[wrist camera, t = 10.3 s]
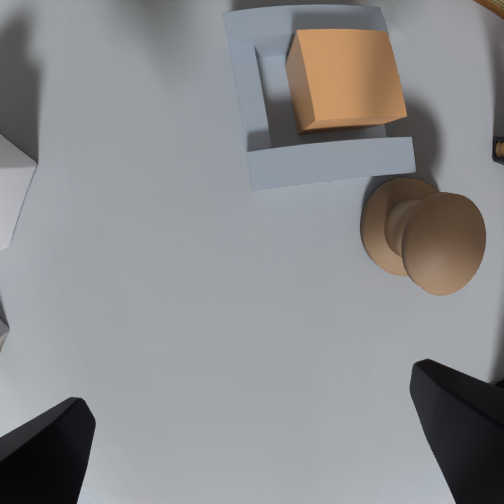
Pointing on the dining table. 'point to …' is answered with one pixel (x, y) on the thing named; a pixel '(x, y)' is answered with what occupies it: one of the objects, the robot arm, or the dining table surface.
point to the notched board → (280, 105)
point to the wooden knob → (423, 234)
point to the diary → (493, 6)
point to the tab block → (343, 80)
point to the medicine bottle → (12, 187)
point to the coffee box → (3, 333)
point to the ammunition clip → (498, 150)
